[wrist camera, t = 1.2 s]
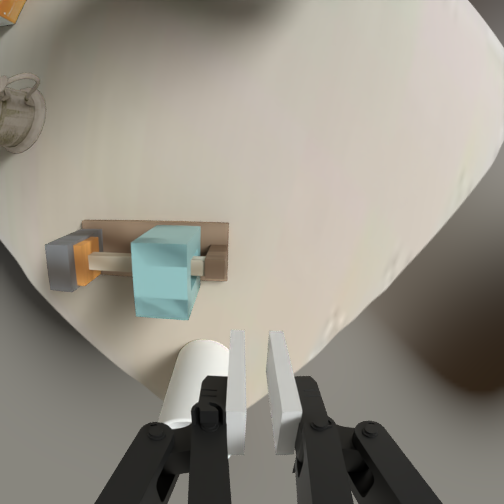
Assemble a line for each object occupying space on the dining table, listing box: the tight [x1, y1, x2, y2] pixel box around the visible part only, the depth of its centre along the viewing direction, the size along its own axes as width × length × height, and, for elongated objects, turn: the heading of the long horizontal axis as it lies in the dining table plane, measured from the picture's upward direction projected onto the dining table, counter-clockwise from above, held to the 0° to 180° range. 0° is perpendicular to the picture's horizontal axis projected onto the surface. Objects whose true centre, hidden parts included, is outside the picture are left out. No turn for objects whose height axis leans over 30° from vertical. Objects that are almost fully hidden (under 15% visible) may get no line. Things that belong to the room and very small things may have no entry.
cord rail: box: [45, 220, 229, 292], centre depth 34 cm, size 7×19×10 cm, turn 87°
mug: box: [0, 73, 46, 153], centre depth 27 cm, size 14×10×12 cm
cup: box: [158, 339, 231, 459], centre depth 35 cm, size 8×8×16 cm
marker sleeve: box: [131, 225, 201, 320], centre depth 31 cm, size 7×5×9 cm
